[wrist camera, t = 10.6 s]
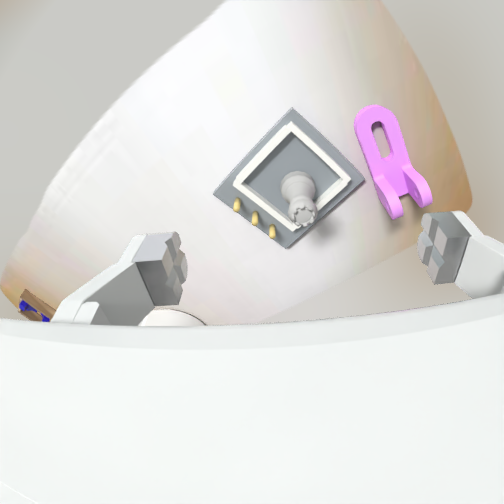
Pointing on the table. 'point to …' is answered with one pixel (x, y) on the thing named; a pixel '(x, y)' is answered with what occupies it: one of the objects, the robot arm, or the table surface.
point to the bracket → (389, 161)
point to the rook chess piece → (299, 197)
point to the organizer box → (37, 305)
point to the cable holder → (27, 307)
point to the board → (277, 167)
